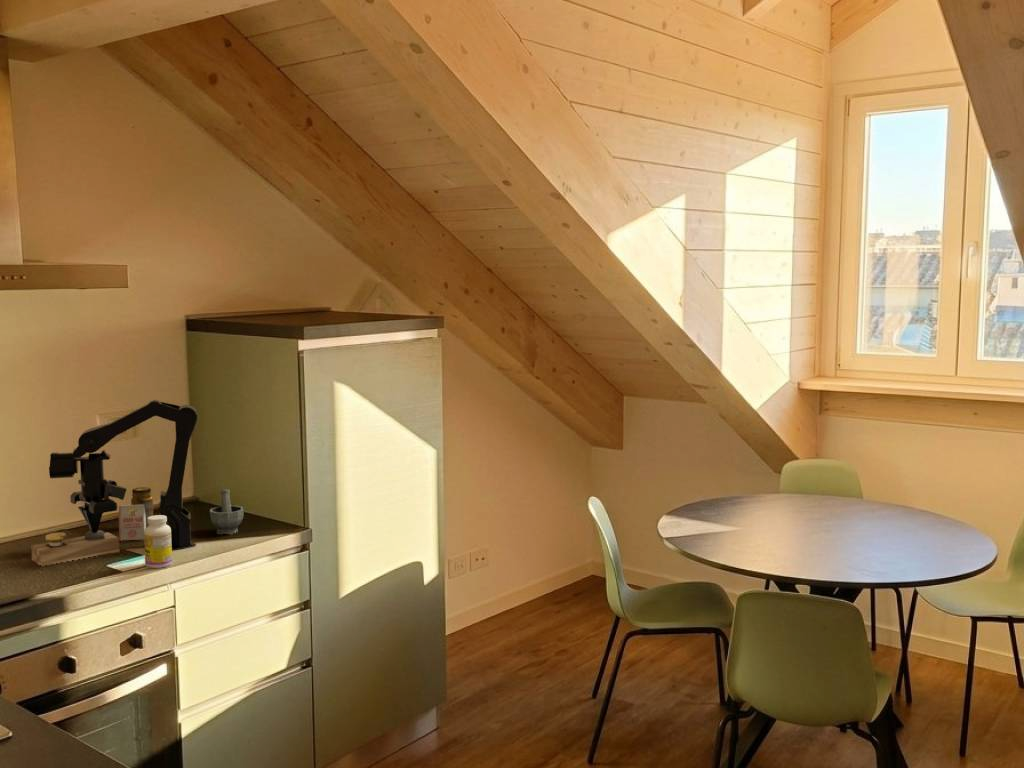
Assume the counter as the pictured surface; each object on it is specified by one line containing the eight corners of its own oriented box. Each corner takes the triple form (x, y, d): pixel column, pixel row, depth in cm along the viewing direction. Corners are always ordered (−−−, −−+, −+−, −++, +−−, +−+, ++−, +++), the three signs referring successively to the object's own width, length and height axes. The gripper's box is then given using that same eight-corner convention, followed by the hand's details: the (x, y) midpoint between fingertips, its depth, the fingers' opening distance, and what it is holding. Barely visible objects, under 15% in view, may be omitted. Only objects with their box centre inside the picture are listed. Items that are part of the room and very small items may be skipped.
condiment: (150, 524, 296) (149, 485, 295) (160, 529, 289) (159, 490, 288) (126, 527, 291) (124, 488, 290) (135, 533, 285) (134, 493, 284)
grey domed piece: (107, 547, 264) (106, 532, 264) (89, 551, 261) (88, 535, 260) (100, 544, 268) (100, 529, 267) (82, 547, 264) (82, 532, 264)
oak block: (119, 552, 265) (118, 537, 264) (41, 566, 251) (40, 551, 251) (108, 546, 271) (107, 532, 270) (31, 559, 257) (31, 545, 257)
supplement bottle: (144, 563, 255) (142, 515, 253) (171, 560, 257) (169, 513, 256) (145, 570, 249) (144, 521, 247) (173, 567, 251) (171, 518, 250)
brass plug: (68, 550, 257) (68, 535, 257) (49, 553, 254) (49, 538, 254) (62, 546, 261) (62, 531, 260) (43, 550, 258) (43, 534, 257)
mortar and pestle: (245, 534, 283) (243, 494, 282) (211, 537, 280) (210, 496, 279) (242, 525, 294) (241, 486, 293) (209, 528, 291) (208, 489, 290)
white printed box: (121, 538, 279) (120, 504, 278) (146, 537, 281) (145, 503, 280) (119, 541, 276) (117, 507, 275) (144, 540, 277) (143, 506, 276)
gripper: (135, 477, 261) (137, 534, 262) (109, 467, 274) (111, 521, 276) (92, 483, 253) (95, 541, 255) (68, 472, 267) (71, 528, 269)
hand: (94, 532), depth 264 cm, fingers closed, pressing on grey domed piece
